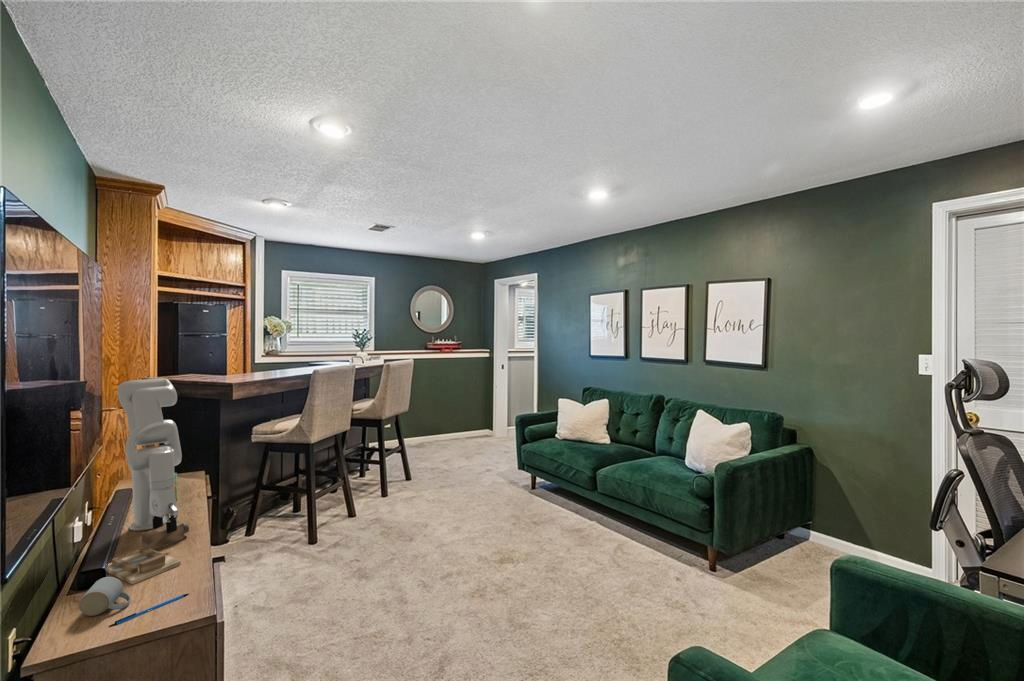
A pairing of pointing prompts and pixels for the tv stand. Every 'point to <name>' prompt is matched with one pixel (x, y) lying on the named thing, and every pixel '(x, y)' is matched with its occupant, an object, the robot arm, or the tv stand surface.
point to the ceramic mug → (103, 596)
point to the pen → (147, 610)
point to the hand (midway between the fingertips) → (164, 529)
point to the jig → (141, 565)
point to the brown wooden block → (163, 536)
